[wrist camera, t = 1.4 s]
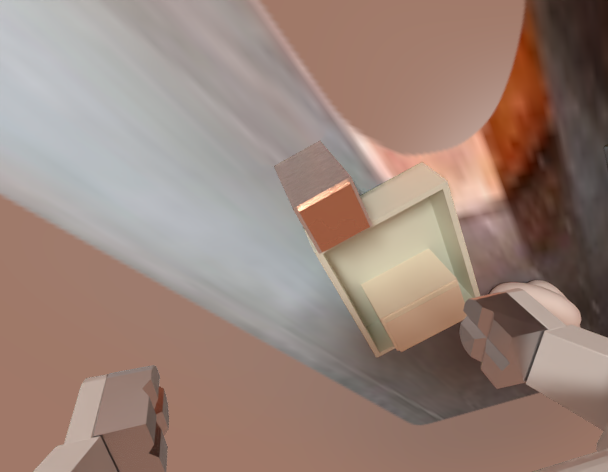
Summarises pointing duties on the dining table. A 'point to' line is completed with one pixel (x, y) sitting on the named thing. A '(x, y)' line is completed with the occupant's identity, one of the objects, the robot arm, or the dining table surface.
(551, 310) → the pretzel
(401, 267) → the beige rectangular block
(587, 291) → the dining table surface
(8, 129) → the dining table surface
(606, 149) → the beverage carton
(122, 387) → the robot arm
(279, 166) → the copper capped metal stub
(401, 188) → the tote
